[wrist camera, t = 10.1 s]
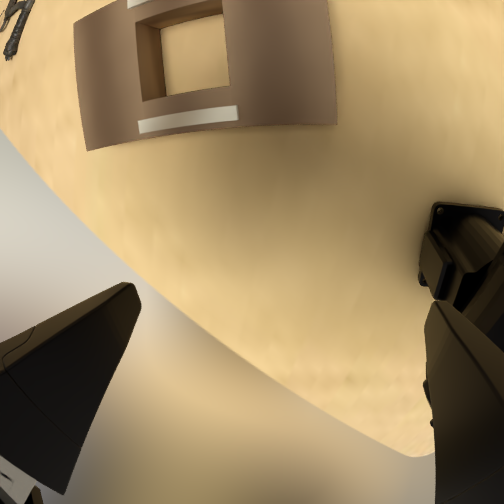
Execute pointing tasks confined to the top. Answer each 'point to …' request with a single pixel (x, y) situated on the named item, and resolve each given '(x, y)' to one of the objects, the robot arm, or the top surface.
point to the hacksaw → (15, 36)
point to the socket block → (208, 100)
